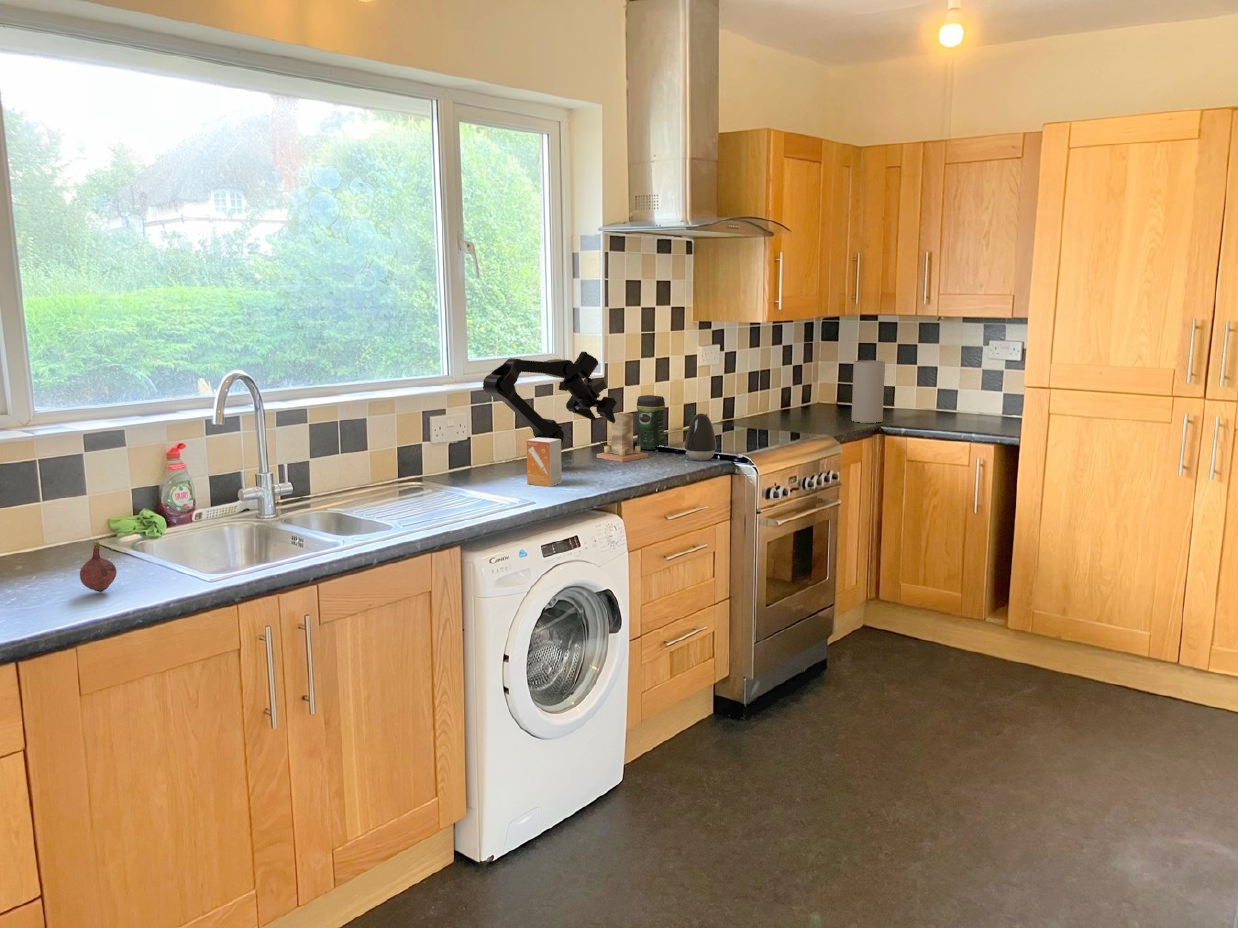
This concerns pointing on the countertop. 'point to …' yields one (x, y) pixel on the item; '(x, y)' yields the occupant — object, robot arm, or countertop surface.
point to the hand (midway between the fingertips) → (604, 420)
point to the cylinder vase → (868, 391)
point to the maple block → (622, 433)
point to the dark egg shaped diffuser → (700, 438)
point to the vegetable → (97, 572)
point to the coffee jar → (650, 421)
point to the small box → (544, 461)
